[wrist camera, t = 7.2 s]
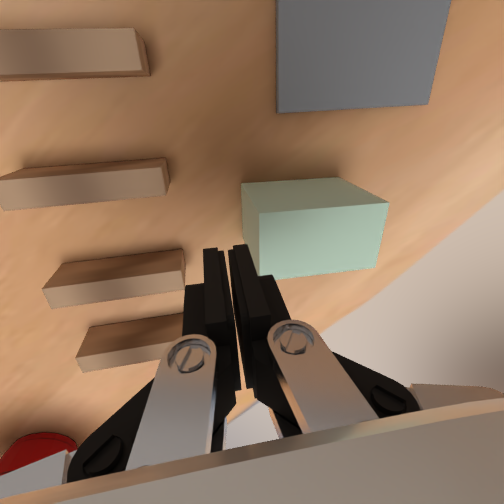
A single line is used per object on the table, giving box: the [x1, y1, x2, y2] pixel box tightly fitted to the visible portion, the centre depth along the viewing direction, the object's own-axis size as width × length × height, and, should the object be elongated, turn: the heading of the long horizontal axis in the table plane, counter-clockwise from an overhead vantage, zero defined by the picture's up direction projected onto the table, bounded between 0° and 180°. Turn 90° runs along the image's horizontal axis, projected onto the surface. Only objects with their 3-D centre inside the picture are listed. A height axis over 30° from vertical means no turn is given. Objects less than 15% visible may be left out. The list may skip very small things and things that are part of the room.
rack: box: [0, 28, 186, 373], centre depth 17 cm, size 8×19×3 cm, turn 2°
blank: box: [241, 177, 389, 280], centre depth 18 cm, size 7×4×6 cm, turn 91°
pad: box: [276, 0, 451, 113], centre depth 15 cm, size 10×10×1 cm
